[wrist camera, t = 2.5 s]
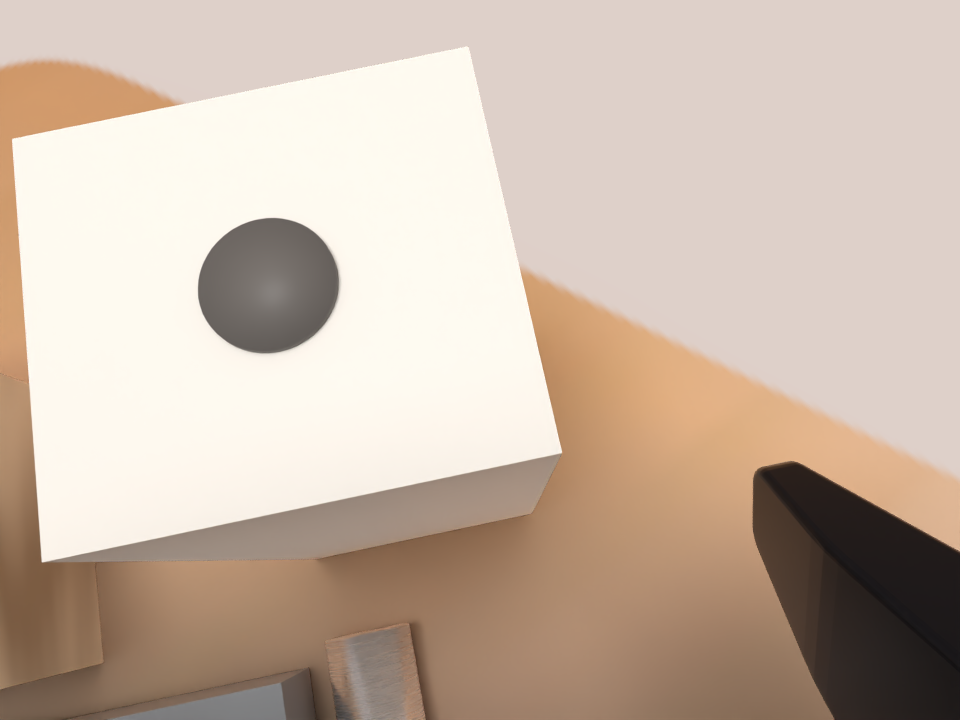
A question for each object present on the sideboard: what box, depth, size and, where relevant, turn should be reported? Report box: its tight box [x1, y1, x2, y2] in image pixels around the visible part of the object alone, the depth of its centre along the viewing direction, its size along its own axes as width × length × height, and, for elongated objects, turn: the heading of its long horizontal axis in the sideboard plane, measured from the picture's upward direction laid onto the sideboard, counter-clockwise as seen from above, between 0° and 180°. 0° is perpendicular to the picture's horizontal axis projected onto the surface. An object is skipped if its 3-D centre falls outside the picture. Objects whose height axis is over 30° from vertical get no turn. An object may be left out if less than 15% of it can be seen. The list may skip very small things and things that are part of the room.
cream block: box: [12, 46, 562, 562], centre depth 13 cm, size 4×5×11 cm
